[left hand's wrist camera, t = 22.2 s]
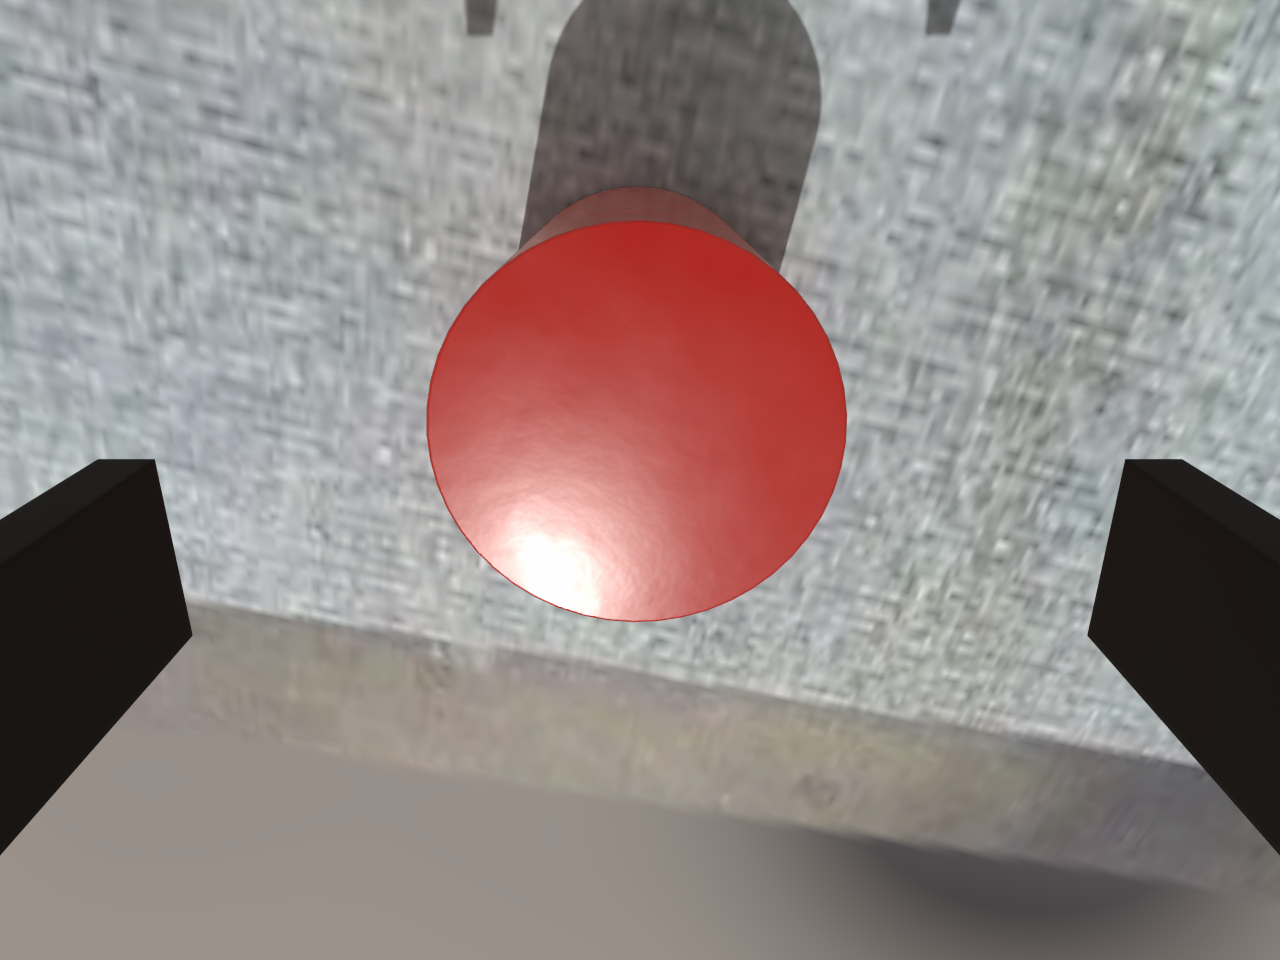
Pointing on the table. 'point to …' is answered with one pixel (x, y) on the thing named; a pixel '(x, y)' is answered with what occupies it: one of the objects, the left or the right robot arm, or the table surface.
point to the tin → (636, 412)
